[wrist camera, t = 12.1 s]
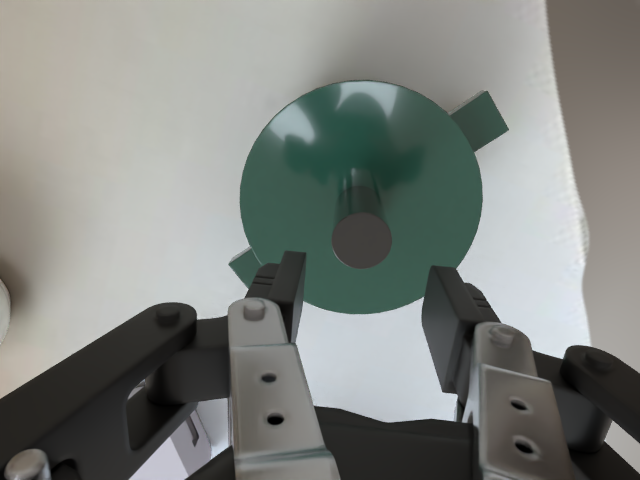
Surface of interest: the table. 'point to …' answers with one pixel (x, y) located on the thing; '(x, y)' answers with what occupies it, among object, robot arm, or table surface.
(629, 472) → the robot arm
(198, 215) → the table surface
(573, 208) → the table surface
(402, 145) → the lid
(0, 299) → the trinket box
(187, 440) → the charger
